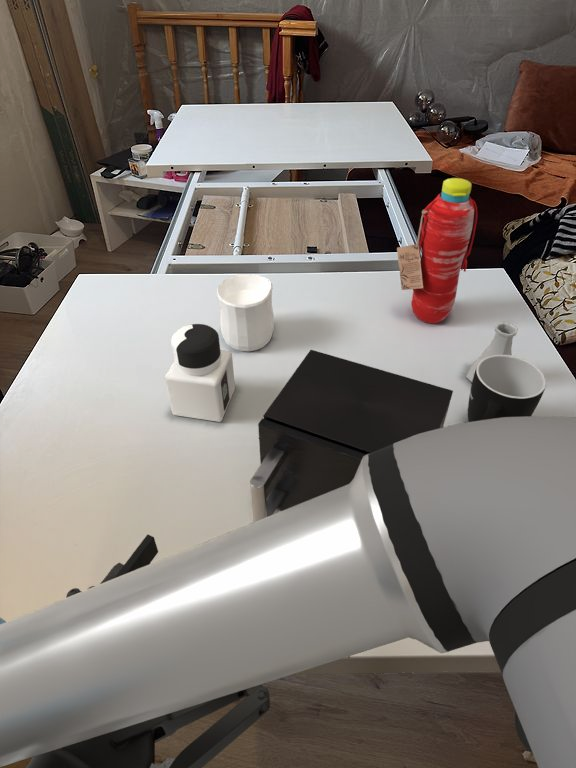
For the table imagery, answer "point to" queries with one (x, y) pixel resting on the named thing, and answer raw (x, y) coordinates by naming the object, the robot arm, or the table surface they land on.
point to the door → (297, 468)
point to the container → (199, 374)
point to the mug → (504, 388)
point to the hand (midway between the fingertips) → (211, 570)
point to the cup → (246, 311)
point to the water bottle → (439, 252)
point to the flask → (497, 345)
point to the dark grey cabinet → (357, 404)
